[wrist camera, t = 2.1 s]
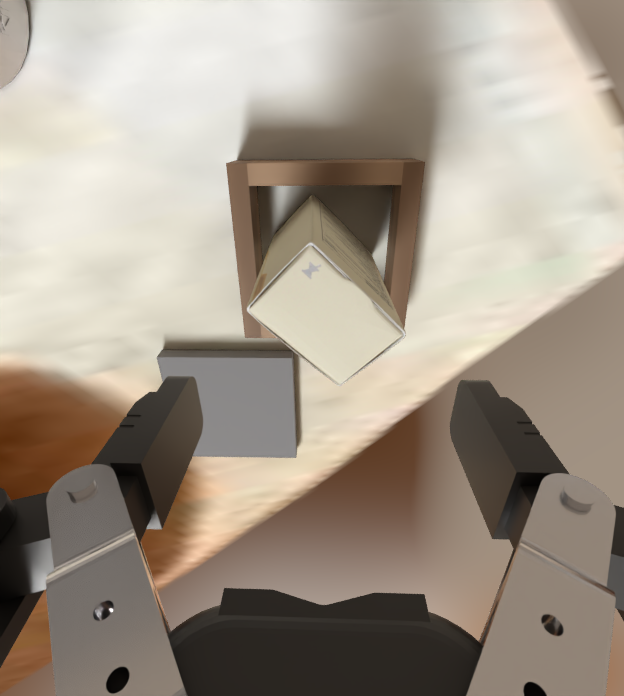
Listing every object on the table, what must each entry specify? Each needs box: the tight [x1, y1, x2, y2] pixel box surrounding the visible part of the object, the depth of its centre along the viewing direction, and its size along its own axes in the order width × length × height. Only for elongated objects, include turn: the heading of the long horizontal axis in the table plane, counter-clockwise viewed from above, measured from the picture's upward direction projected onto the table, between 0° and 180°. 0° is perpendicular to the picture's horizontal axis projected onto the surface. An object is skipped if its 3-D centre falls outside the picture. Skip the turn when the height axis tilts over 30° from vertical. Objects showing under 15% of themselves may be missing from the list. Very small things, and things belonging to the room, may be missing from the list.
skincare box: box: [247, 195, 406, 386], centre depth 22 cm, size 6×4×12 cm
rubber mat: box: [157, 350, 297, 458], centre depth 34 cm, size 11×11×1 cm
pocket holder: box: [226, 159, 425, 338], centre depth 26 cm, size 11×11×3 cm
